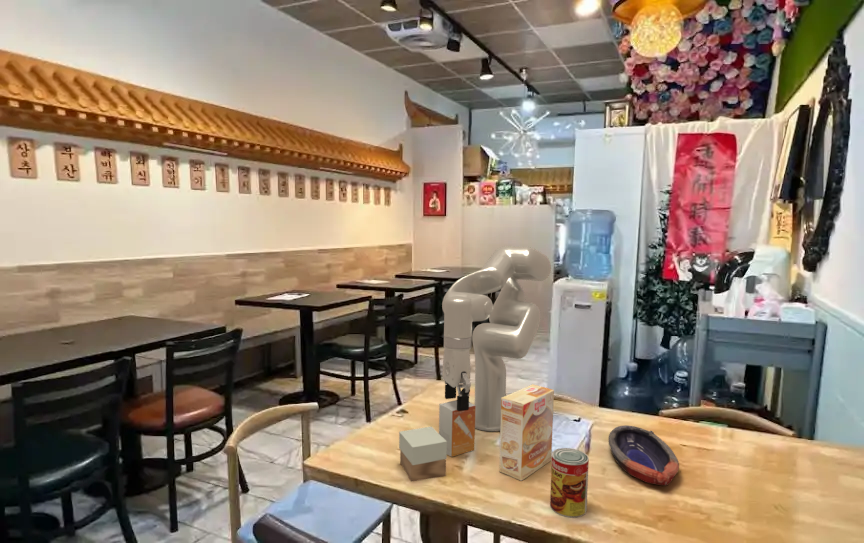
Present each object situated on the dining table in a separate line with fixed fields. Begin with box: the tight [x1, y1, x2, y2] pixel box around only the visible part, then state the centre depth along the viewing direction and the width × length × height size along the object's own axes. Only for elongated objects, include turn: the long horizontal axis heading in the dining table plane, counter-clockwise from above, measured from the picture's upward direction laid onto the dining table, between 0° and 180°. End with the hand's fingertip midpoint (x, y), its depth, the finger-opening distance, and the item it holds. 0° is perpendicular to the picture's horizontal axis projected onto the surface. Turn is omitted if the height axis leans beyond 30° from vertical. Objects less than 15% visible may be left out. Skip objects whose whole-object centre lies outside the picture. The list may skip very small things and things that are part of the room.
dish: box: [608, 425, 680, 486], centre depth 137 cm, size 16×31×5 cm, turn 172°
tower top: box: [398, 426, 448, 465], centre depth 132 cm, size 9×10×4 cm
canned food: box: [549, 447, 590, 518], centre depth 115 cm, size 8×8×12 cm
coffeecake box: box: [498, 383, 555, 481], centre depth 134 cm, size 15×7×20 cm, turn 137°
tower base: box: [399, 449, 447, 482], centre depth 133 cm, size 9×10×4 cm
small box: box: [438, 399, 476, 458], centre depth 143 cm, size 8×6×13 cm
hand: (456, 404), depth 142 cm, fingers open, 9 cm apart
